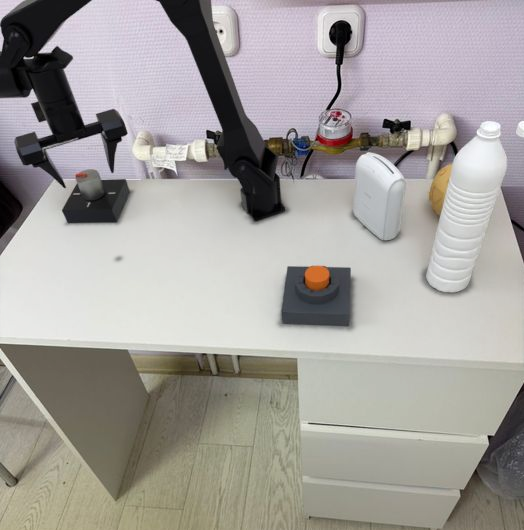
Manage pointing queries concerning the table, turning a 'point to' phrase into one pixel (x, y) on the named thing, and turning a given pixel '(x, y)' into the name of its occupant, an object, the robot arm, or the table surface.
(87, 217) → the panel
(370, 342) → the table surface
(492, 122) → the water bottle
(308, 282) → the button
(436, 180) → the stress ball
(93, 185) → the dial
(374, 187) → the photo printer
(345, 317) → the box
